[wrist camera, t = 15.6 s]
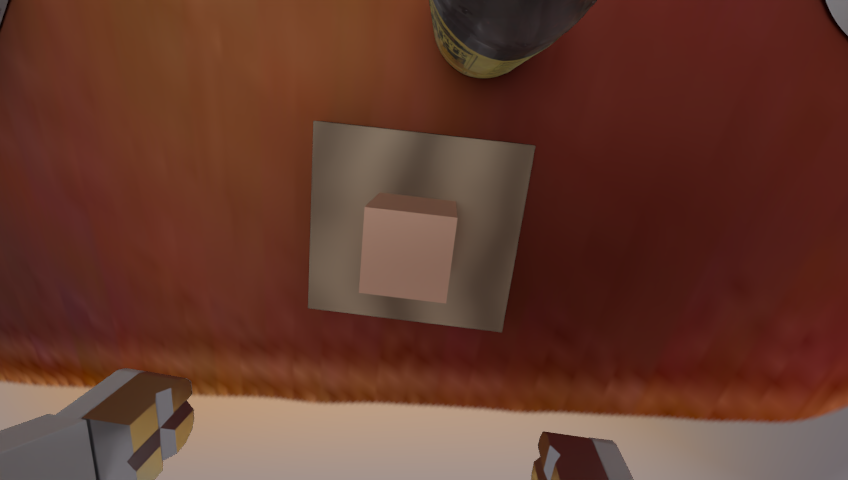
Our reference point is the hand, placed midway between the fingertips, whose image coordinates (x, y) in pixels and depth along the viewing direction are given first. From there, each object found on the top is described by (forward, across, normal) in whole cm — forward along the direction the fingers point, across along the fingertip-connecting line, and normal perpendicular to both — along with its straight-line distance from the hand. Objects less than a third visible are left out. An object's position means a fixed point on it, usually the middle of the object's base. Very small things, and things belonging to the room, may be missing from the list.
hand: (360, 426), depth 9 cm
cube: (+18, +1, 0) cm, 18 cm away
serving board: (+20, +1, 0) cm, 20 cm away
